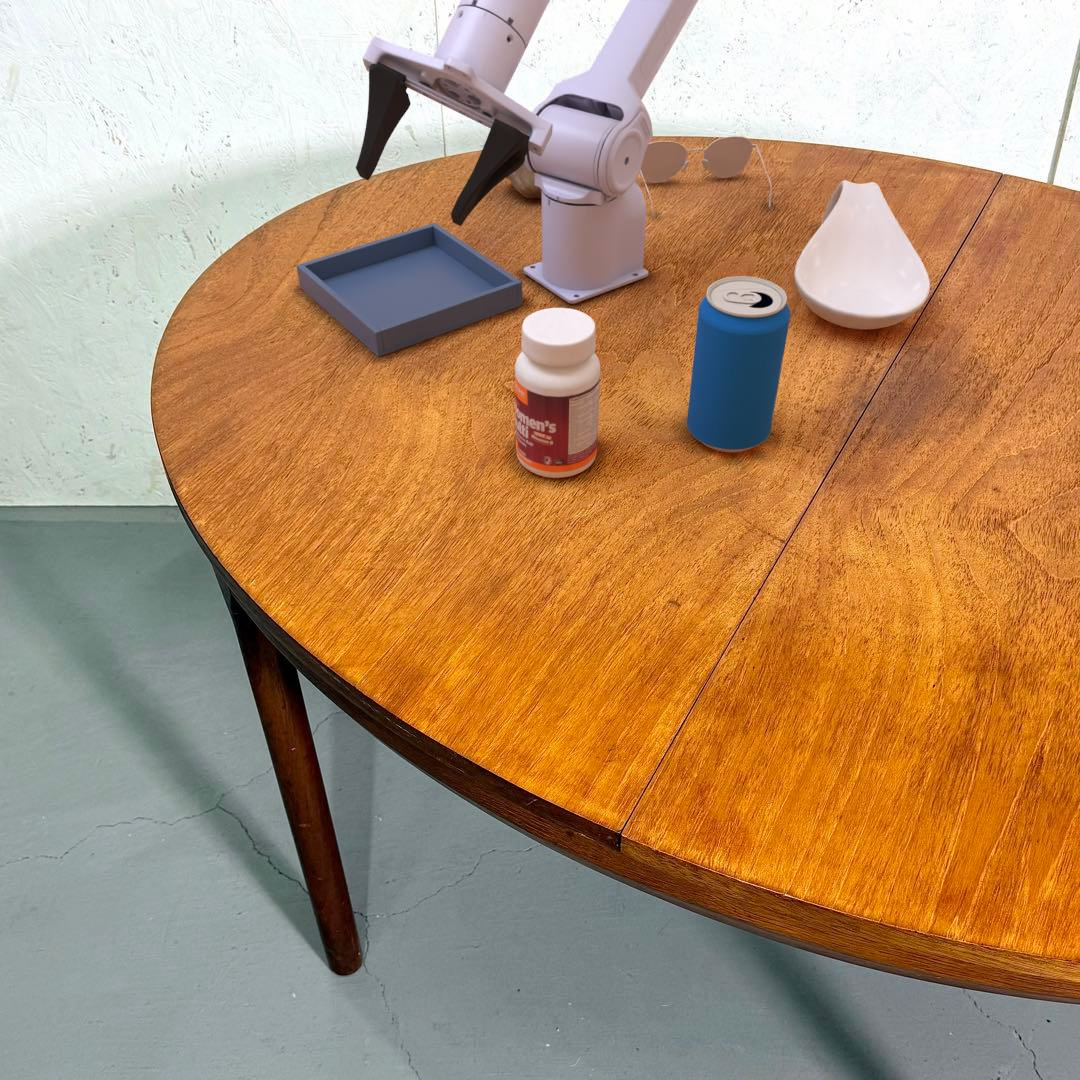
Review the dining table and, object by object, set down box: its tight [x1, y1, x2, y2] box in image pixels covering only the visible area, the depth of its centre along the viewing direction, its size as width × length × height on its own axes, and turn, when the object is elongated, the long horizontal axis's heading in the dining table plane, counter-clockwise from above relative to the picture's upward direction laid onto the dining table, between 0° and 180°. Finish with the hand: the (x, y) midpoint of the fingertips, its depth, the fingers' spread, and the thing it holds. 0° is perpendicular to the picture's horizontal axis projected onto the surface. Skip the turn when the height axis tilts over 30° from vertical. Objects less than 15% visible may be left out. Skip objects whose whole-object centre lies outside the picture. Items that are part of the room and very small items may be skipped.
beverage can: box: [686, 275, 791, 453], centre depth 79 cm, size 6×6×12 cm
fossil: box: [505, 163, 542, 200], centre depth 114 cm, size 9×4×10 cm
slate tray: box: [295, 222, 524, 358], centre depth 99 cm, size 15×15×2 cm
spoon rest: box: [793, 179, 931, 330], centre depth 98 cm, size 24×12×7 cm, turn 172°
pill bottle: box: [514, 307, 602, 479], centre depth 77 cm, size 6×6×11 cm
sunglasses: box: [639, 135, 773, 217], centre depth 114 cm, size 14×8×5 cm, turn 99°
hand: (408, 197), depth 78 cm, fingers open, 7 cm apart
